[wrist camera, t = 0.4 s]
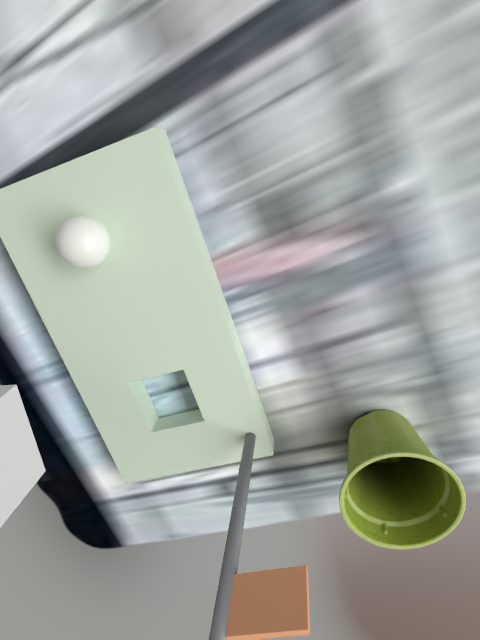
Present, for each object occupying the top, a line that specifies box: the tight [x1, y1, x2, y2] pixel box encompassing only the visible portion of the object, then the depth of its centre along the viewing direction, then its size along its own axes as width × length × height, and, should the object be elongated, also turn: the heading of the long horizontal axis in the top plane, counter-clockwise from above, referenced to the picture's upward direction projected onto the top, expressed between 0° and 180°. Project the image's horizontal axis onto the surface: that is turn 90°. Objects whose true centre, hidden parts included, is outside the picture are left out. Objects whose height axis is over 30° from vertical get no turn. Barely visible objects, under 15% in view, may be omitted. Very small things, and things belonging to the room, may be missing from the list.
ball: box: [55, 216, 111, 268], centre depth 32 cm, size 4×4×4 cm
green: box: [0, 127, 310, 640], centre depth 29 cm, size 30×20×20 cm, turn 18°
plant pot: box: [339, 410, 466, 549], centre depth 36 cm, size 9×9×9 cm
